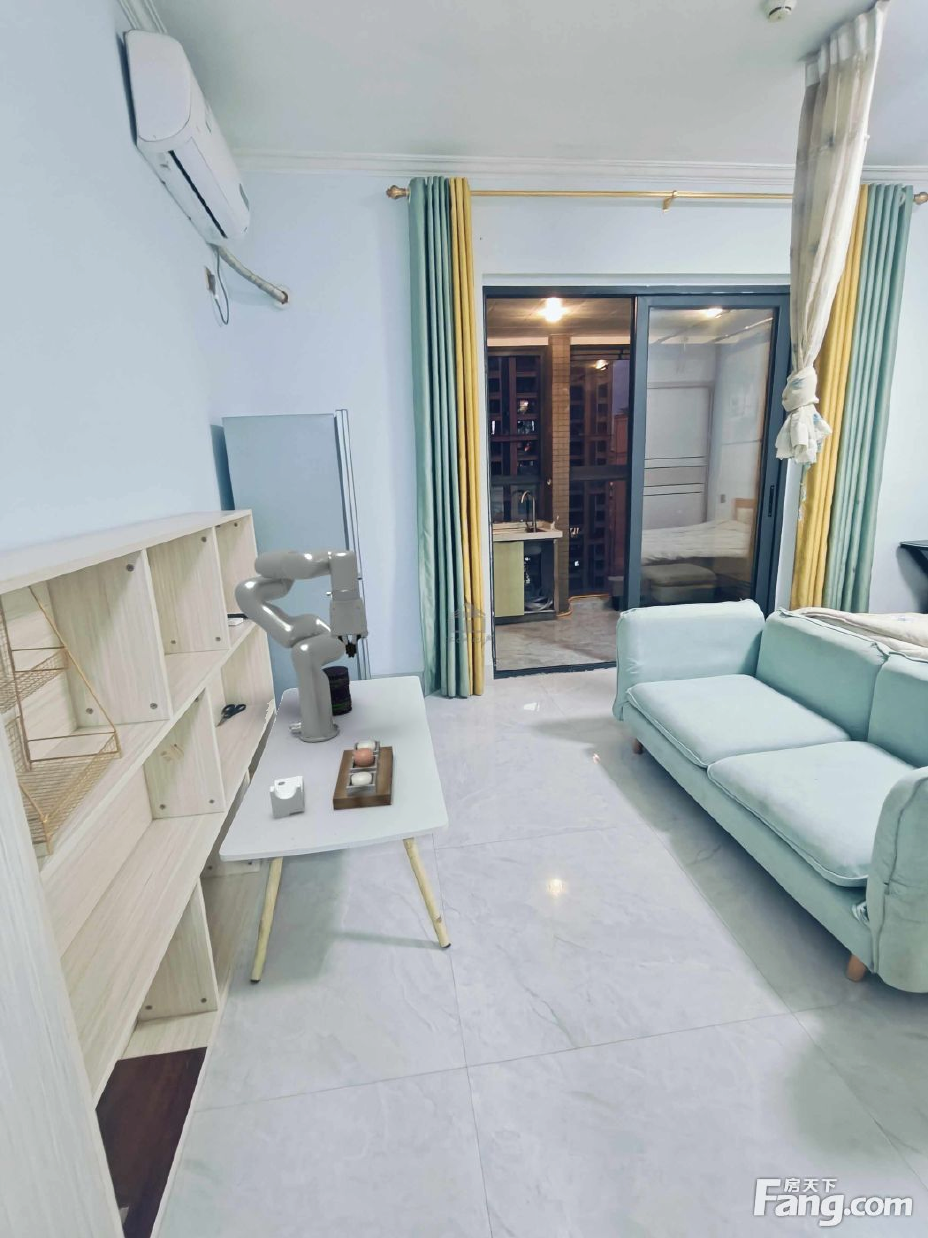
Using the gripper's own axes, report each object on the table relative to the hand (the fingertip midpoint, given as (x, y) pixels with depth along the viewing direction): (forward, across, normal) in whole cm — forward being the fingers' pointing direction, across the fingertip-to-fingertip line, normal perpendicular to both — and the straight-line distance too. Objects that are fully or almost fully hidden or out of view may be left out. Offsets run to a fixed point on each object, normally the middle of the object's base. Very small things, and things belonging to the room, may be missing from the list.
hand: (351, 656), depth 167 cm
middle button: (+24, +3, -20) cm, 31 cm away
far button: (+26, +3, -11) cm, 28 cm away
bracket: (+30, -16, -27) cm, 43 cm away
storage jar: (+29, -10, +30) cm, 43 cm away
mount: (+29, +3, -20) cm, 35 cm away
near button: (+26, +3, -29) cm, 39 cm away
